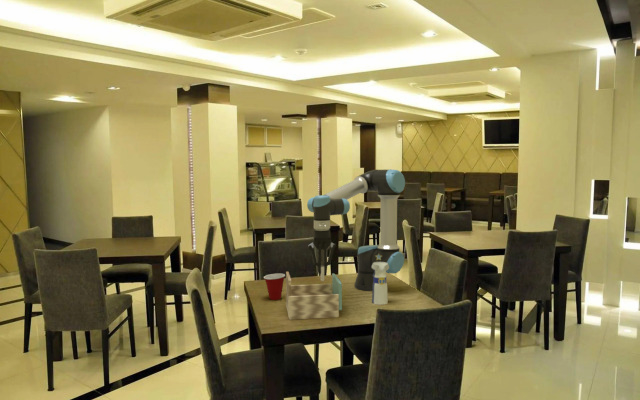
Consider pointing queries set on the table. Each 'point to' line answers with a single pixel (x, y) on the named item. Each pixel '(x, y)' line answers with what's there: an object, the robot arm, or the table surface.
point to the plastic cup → (274, 285)
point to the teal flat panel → (337, 289)
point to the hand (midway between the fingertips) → (322, 280)
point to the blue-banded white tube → (379, 282)
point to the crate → (310, 301)
